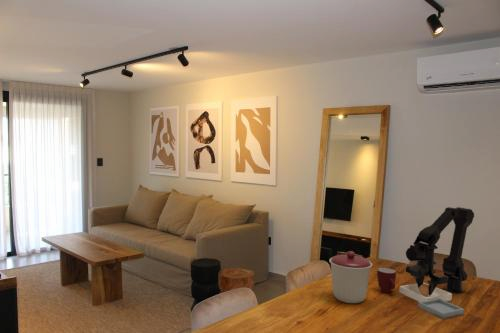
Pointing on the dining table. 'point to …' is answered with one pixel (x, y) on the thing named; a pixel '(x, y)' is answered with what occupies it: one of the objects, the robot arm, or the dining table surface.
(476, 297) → the dining table surface
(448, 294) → the dish
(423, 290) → the ball
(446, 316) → the tray
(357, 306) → the dining table surface
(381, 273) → the mug
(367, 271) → the canister
